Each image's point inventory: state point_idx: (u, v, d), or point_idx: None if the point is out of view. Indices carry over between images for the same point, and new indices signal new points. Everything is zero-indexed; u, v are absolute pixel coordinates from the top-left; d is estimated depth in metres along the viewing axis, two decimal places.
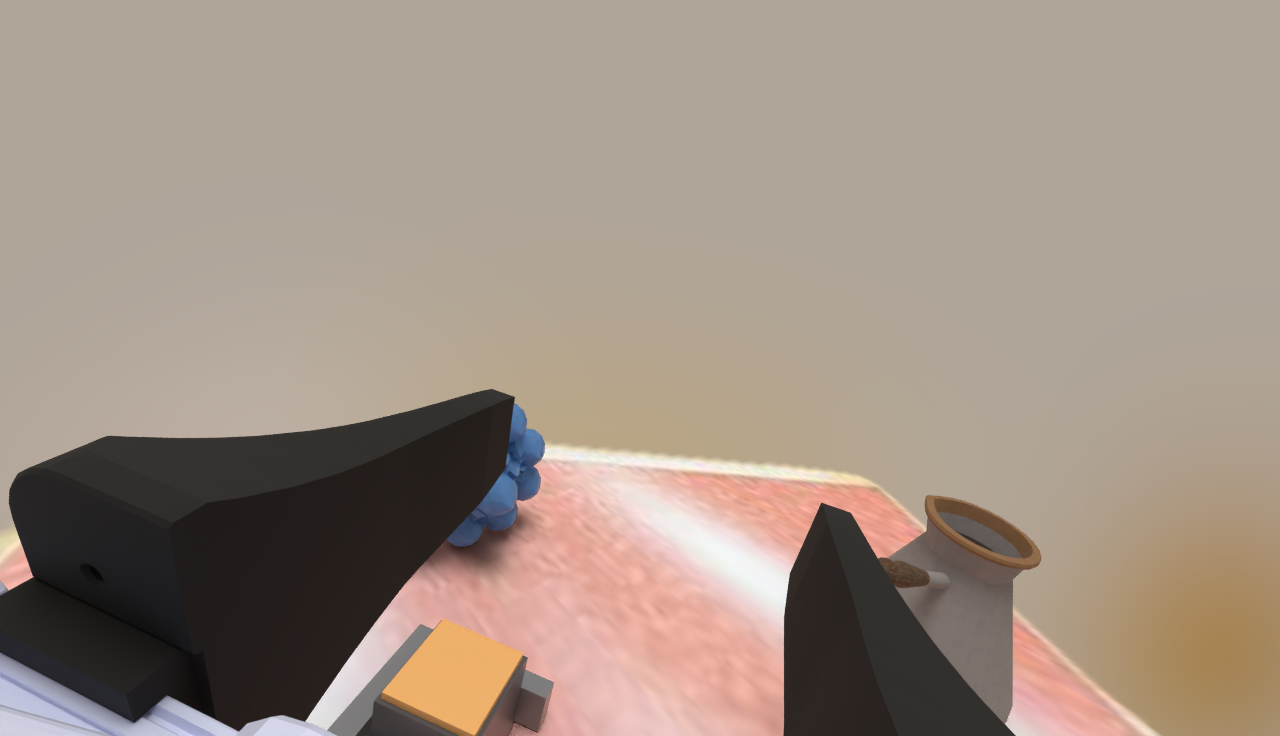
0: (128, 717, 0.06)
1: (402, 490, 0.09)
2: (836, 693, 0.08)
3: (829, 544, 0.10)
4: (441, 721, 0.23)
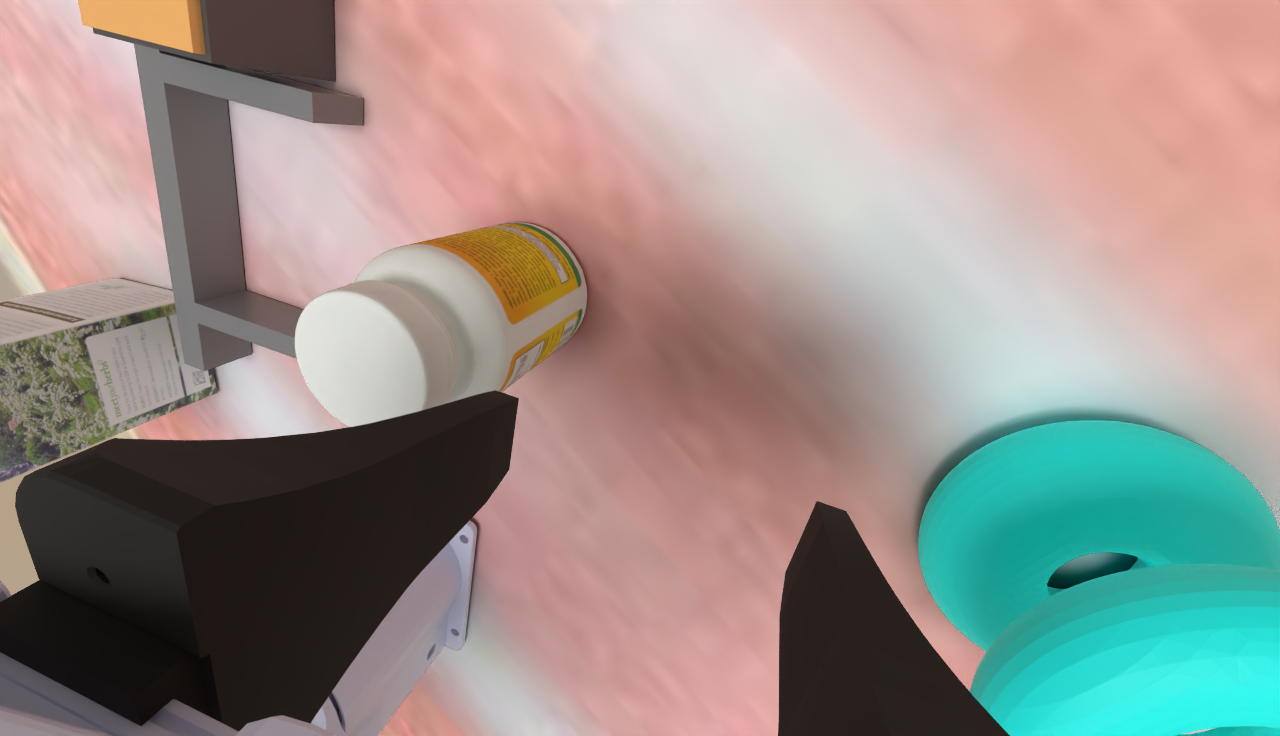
0: (135, 721, 0.06)
1: (407, 492, 0.09)
2: (829, 690, 0.08)
3: (824, 542, 0.10)
4: (156, 43, 0.17)
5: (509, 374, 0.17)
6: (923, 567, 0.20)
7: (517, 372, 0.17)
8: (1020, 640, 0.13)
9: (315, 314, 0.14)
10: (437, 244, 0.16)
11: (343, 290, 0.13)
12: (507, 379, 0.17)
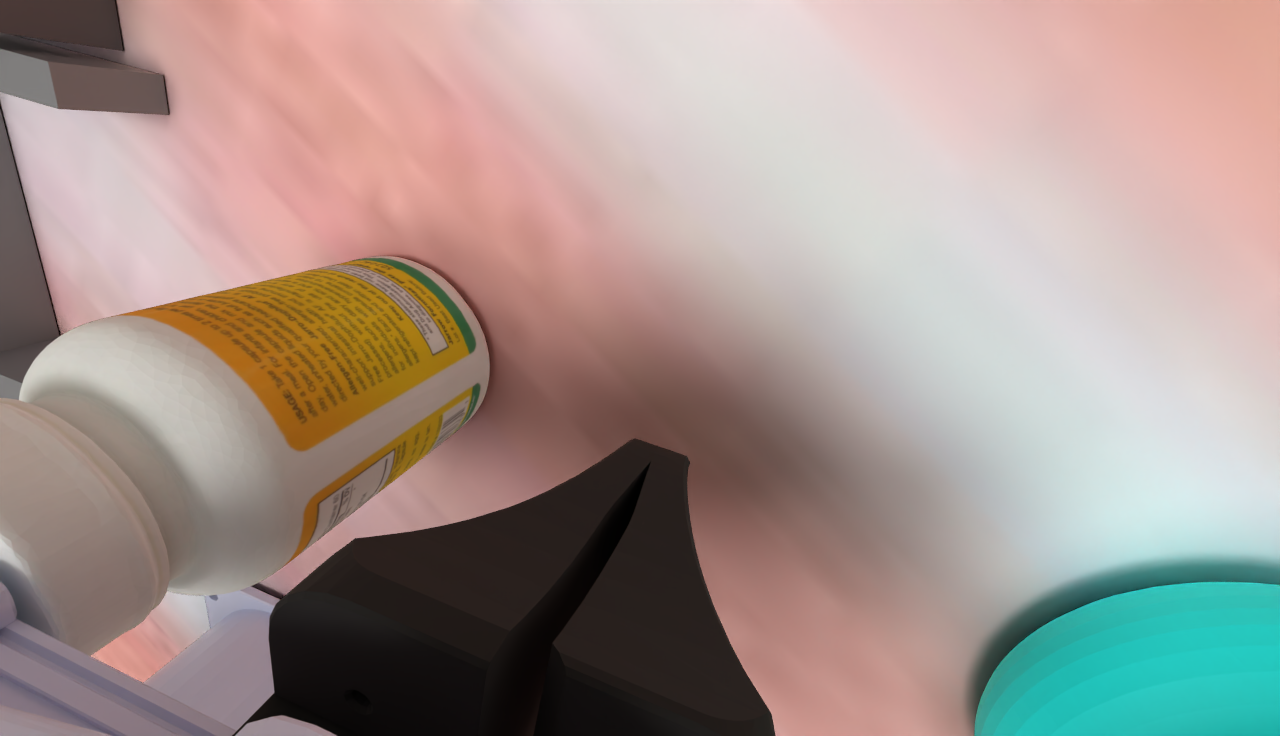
0: None
1: (591, 564, 0.09)
2: None
3: None
4: None
5: (307, 528, 0.10)
6: None
7: (334, 515, 0.11)
8: None
9: None
10: (166, 315, 0.09)
11: None
12: (307, 535, 0.10)
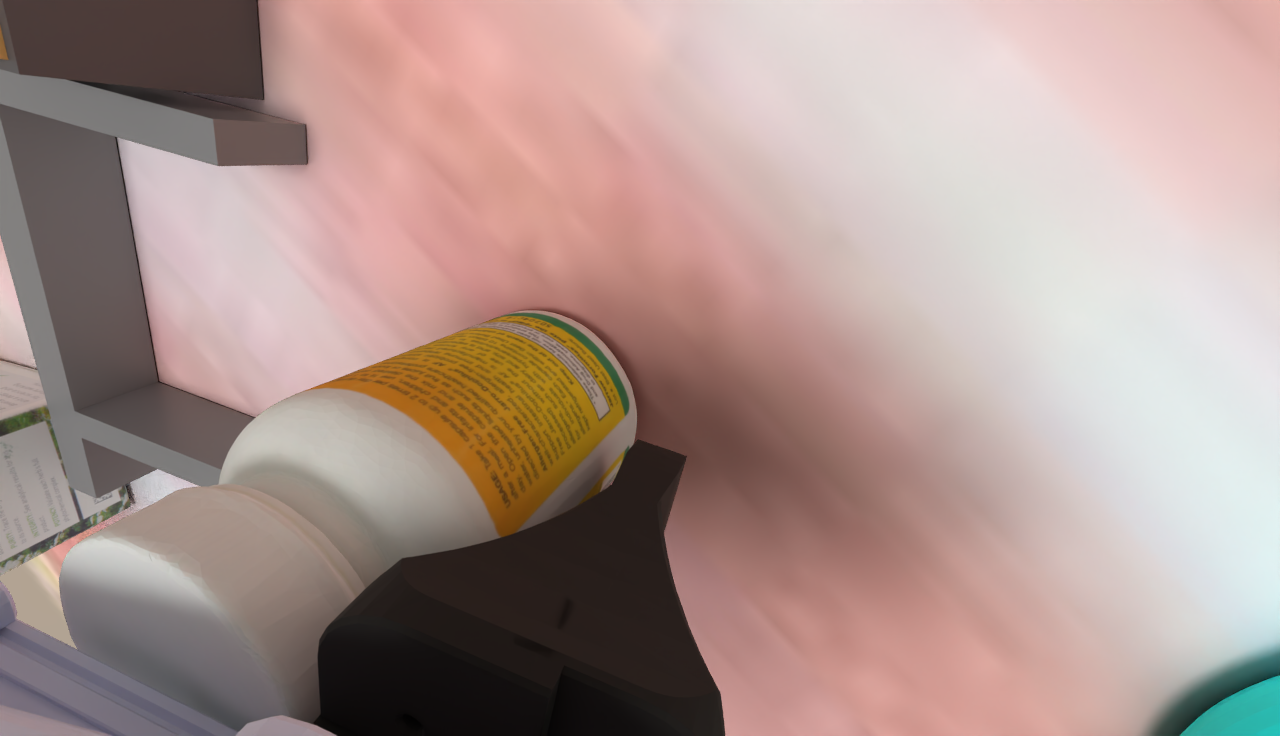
0: None
1: None
2: None
3: (620, 469, 0.10)
4: None
5: None
6: None
7: None
8: None
9: (84, 571, 0.06)
10: (375, 388, 0.09)
11: (126, 537, 0.06)
12: None
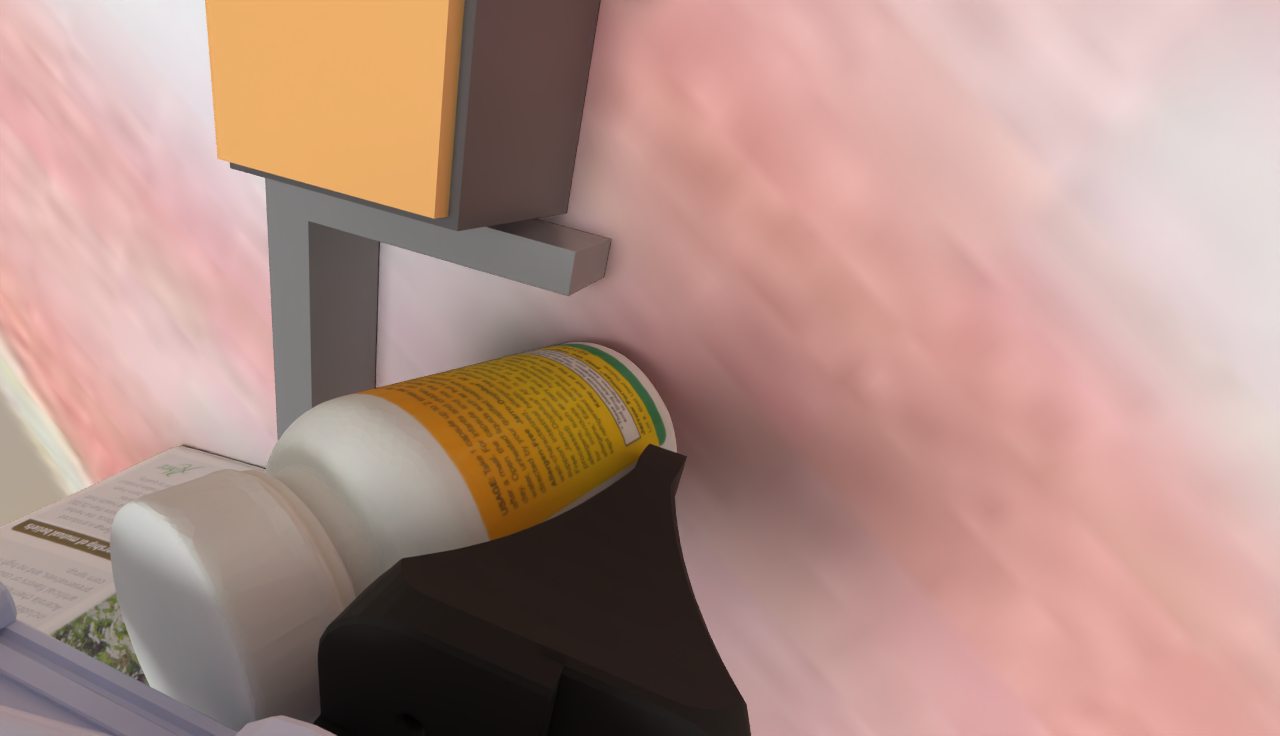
0: None
1: None
2: None
3: (633, 474, 0.10)
4: (358, 196, 0.09)
5: None
6: None
7: None
8: None
9: (122, 535, 0.07)
10: (394, 394, 0.09)
11: (147, 501, 0.07)
12: None
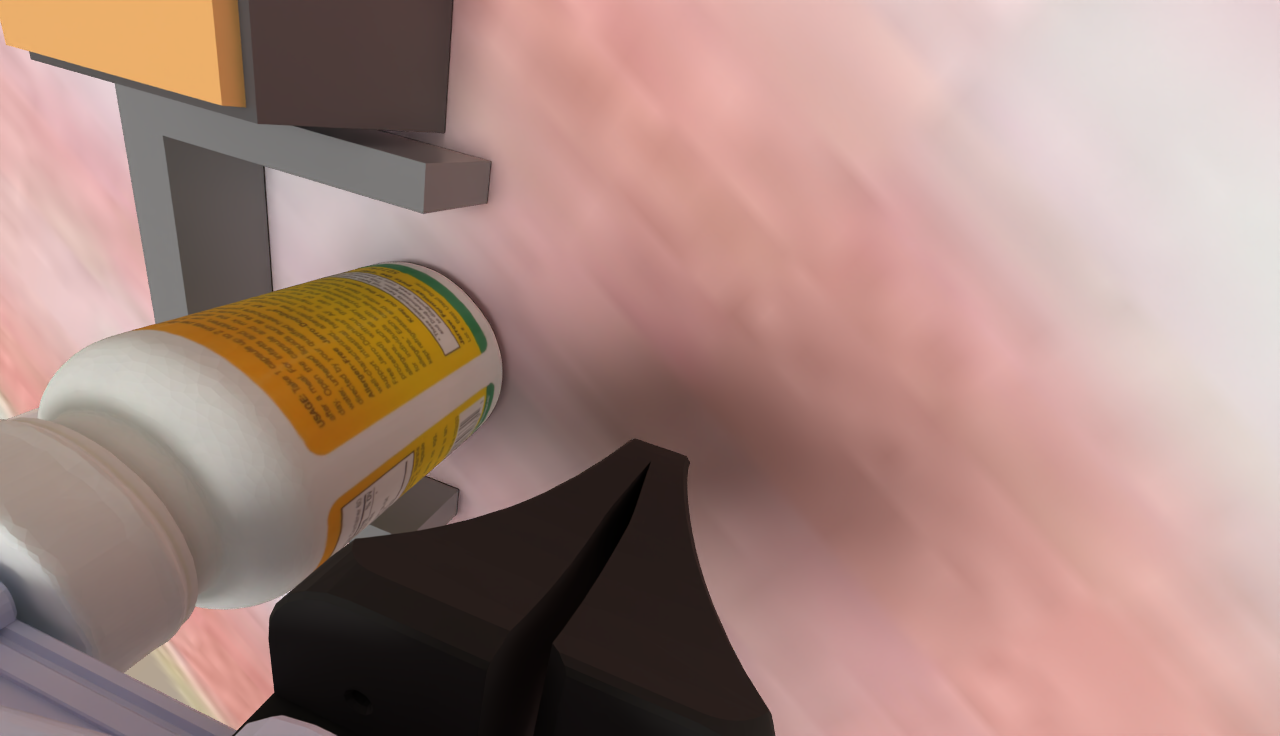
0: None
1: (591, 564, 0.09)
2: None
3: None
4: (148, 83, 0.09)
5: (332, 533, 0.10)
6: None
7: (358, 520, 0.10)
8: None
9: None
10: (178, 327, 0.09)
11: None
12: (332, 541, 0.10)
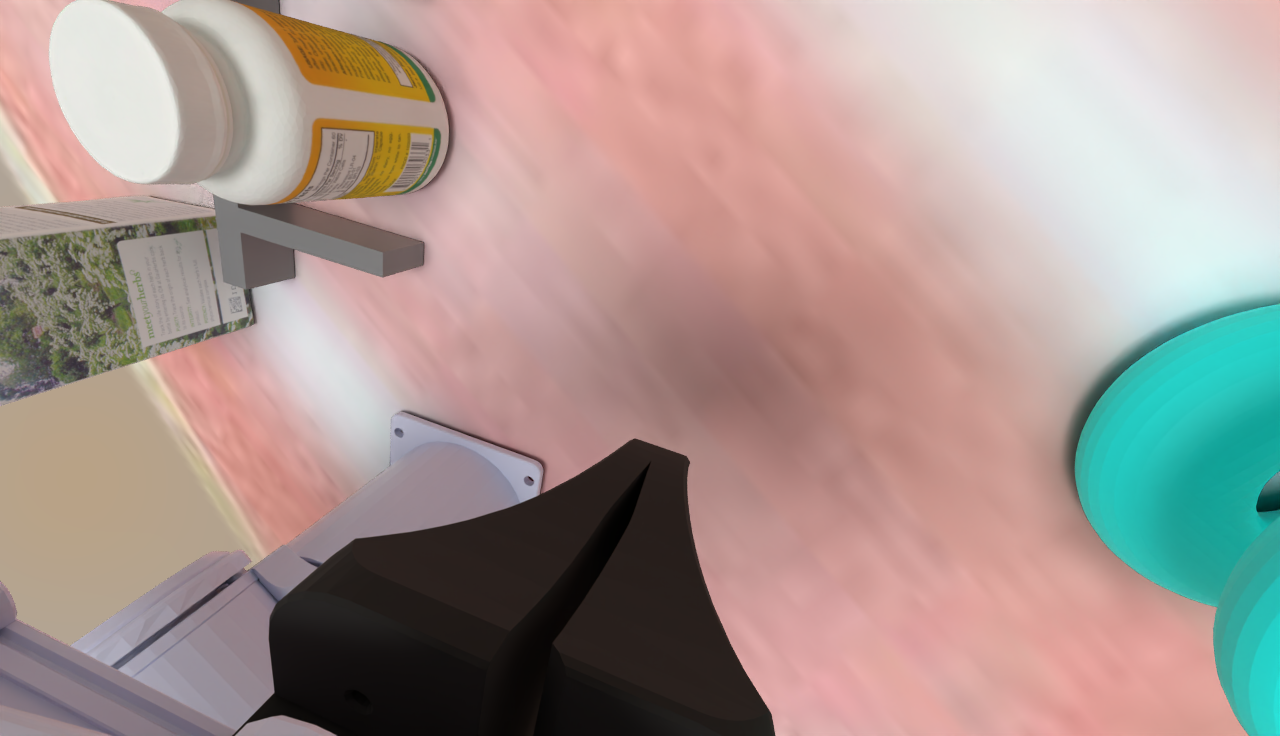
0: None
1: (591, 564, 0.09)
2: None
3: (645, 478, 0.10)
4: None
5: (315, 144, 0.15)
6: (1087, 487, 0.17)
7: (333, 153, 0.16)
8: None
9: (61, 36, 0.13)
10: None
11: None
12: (315, 152, 0.15)
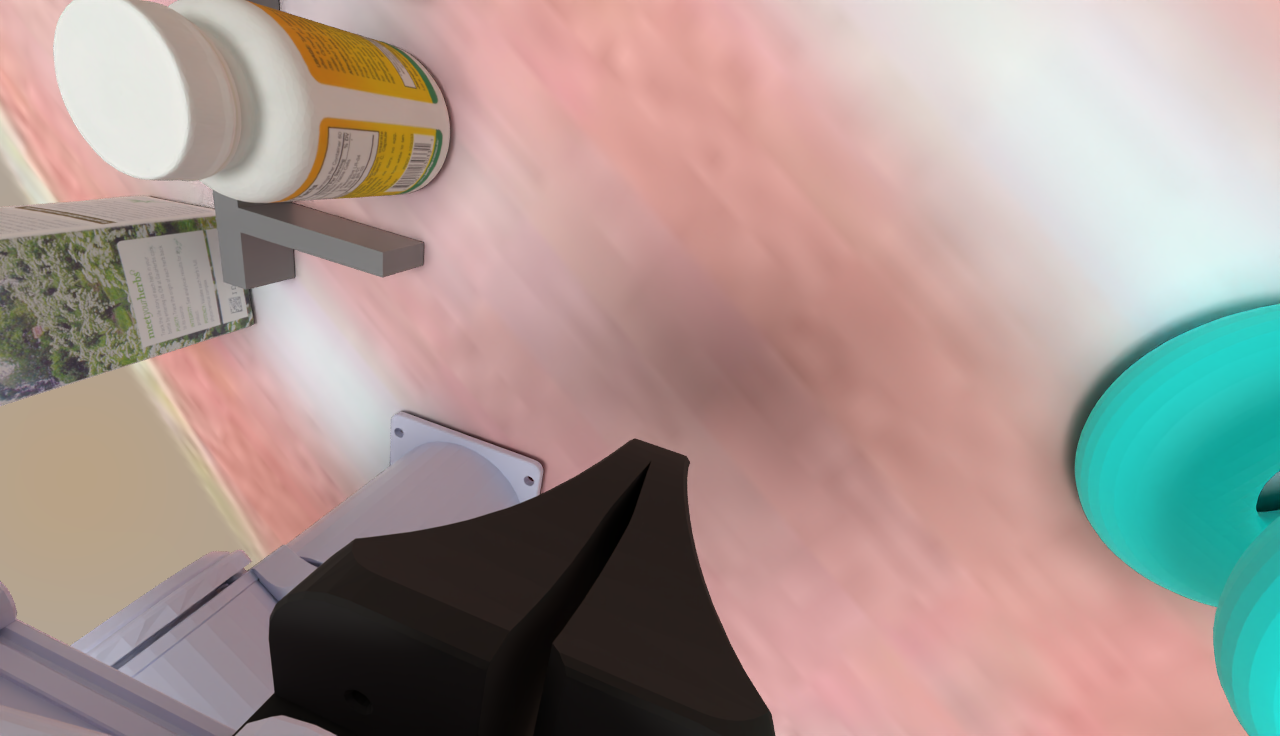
0: None
1: (591, 564, 0.09)
2: None
3: (645, 478, 0.10)
4: None
5: (321, 143, 0.15)
6: (1087, 487, 0.17)
7: (339, 152, 0.16)
8: None
9: (67, 30, 0.13)
10: None
11: None
12: (321, 151, 0.15)
